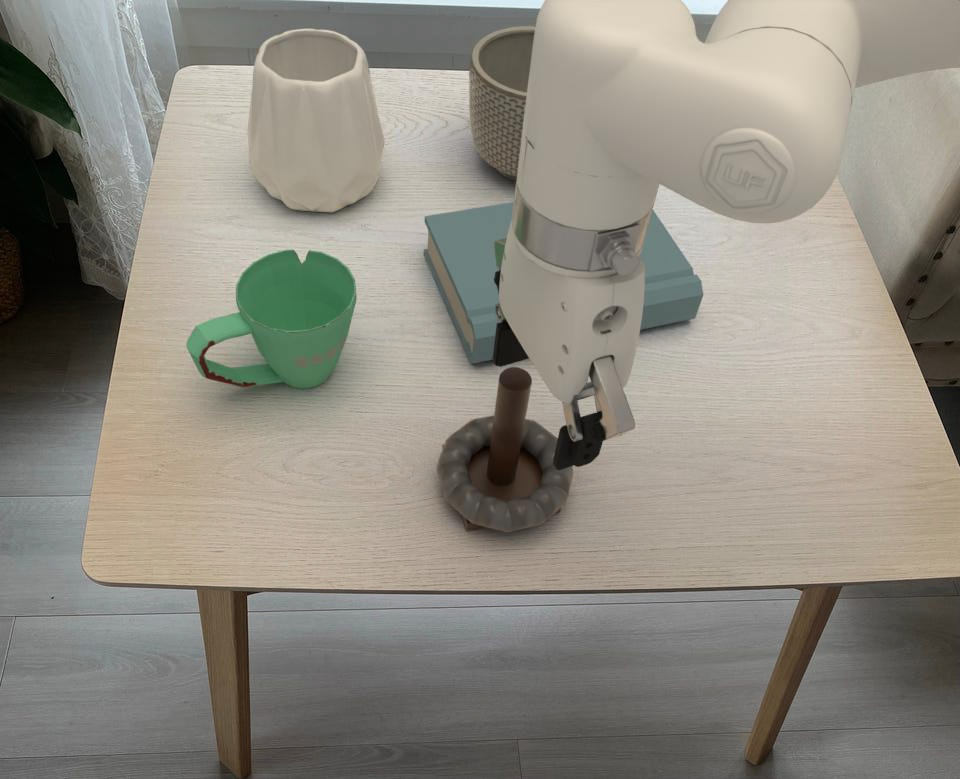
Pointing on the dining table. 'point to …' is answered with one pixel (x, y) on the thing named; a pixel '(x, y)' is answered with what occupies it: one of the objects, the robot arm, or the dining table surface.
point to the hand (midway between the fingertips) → (543, 407)
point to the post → (506, 446)
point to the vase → (314, 121)
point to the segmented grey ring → (494, 509)
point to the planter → (500, 95)
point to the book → (471, 270)
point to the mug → (284, 321)
